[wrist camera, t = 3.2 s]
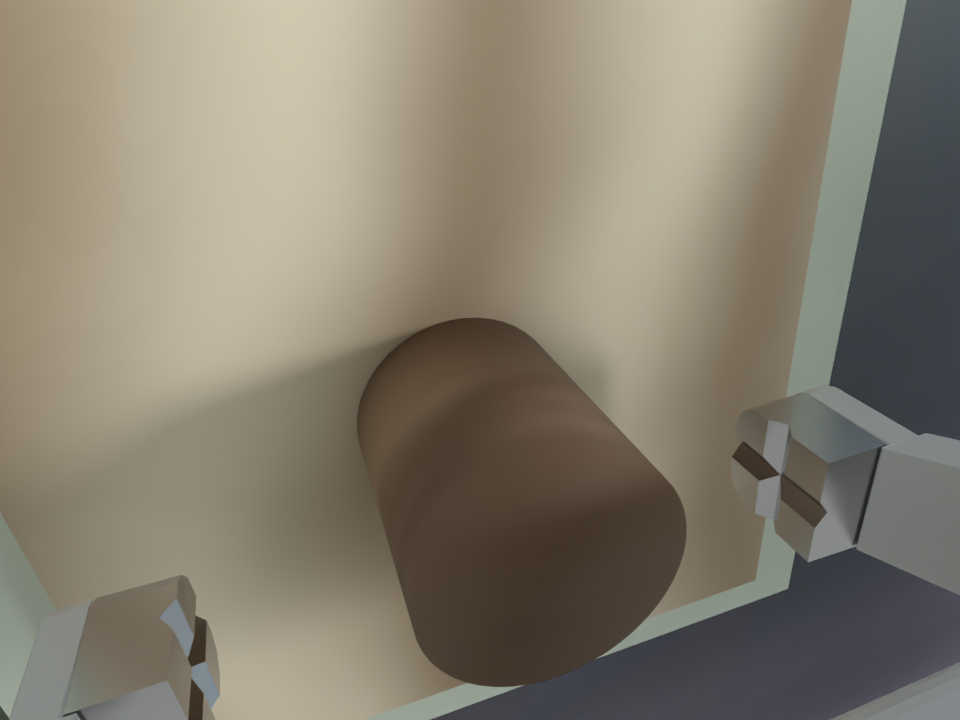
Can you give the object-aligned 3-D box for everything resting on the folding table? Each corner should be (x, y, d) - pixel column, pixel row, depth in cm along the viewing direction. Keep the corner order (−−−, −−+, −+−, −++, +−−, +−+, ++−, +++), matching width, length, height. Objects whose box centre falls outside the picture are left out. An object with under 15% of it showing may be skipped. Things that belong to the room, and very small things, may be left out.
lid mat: (934, -247, 10) (958, -257, 10) (777, 578, 19) (787, 588, 18) (-634, -250, 6) (-687, -268, 5) (99, 822, 14) (96, 841, 14)
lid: (826, -90, 10) (1211, -166, 6) (734, 558, 17) (890, 725, 13) (-252, -15, 7) (-952, -76, 3) (164, 754, 14) (133, 1063, 10)
